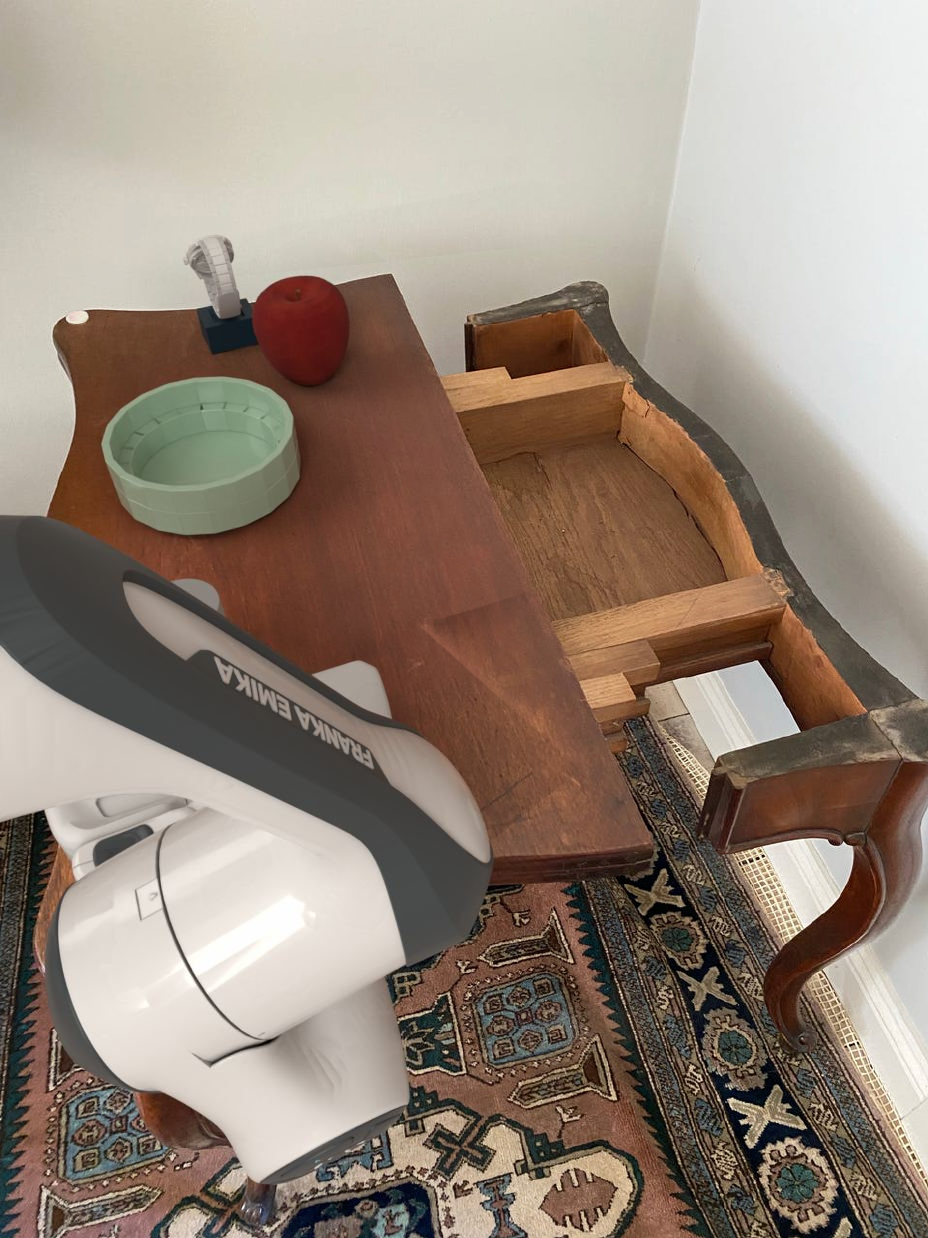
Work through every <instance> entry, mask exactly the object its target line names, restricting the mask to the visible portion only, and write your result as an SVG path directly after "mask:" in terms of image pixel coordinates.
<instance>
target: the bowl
mask: <svg viewBox="0 0 928 1238" xmlns="http://www.w3.org/2000/svg"><path fill="white" fill-rule="evenodd" d="M101 449H102V454H103V457H104V461H105V464H106V467H107V470H108V473H109V475H110V478H111V481H112V483H113V486H114V488H115V492H116V494H117V496H118V499H119V501H120V504H121V506H122V507H123V508H124V509H125V510H126V511H127V513H129V515H130V516H131V517H132V518H133V519H134V520H135V521H138V522H139V523H142V524H144V525H145V526H148V527H149V528H152V529H154V530H156V531H161V532H166V533H171V534H175V535H182V536H192V535H193V536H194V535H196V536H197V535H212V534H214V535H215V534H218V533H223V532H227V531H230V530H234V529H237V528H241V527H242V528H243V527H244V526H247V525H249V524H251V523H253V522H255V521H257V520H259V519H262V518H263V517H265V516H267V515H269V514H271V513H272V512H273V511H274V510H276V509H277V508H278V507H279V506H280V505H281V504H283V502H284V501H286V500H287V499H288V498H289V497H290V496H291V494H292V492H293V490H294V489H295V487H296V485H297V483H298V482H299V480H300V477H301V466H302V465H301V462H302V458H301V453H300V447H299V441H298V435H297V429H296V423H295V418H294V415H293V413H292V411H291V409H290V407H289V404H288V402H287V401H286V399H284V398H283V397H281V395H279V394H278V393H276V392H275V390H273V389H272V388H270V387H267V386H265V385H263V384H261V383H257V382H255V381H252V380H249V379H244V378H236V377H231V376H204V377H203V376H201V377H191V378H188V379H182V380H178V381H174V382H168V383H166V384H162V385H160V386H158V387H156V388H154V389H151V390H148V391H147V392H145V393H141V394H140V395H139V396H137V397H135V398H134V399H133V400H131V401H130V402H128V403H127V404H125V405H124V406H123V407H121V408H120V409H119V410H118V411H117V413H116V414H115V415H114V416H113V418H111V420H110V421H109V422H108V424H107V425H106V427H105V431H104V433H103V437H102V440H101Z"/></svg>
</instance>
